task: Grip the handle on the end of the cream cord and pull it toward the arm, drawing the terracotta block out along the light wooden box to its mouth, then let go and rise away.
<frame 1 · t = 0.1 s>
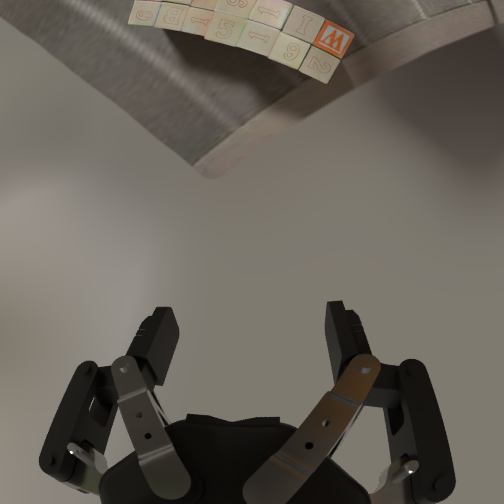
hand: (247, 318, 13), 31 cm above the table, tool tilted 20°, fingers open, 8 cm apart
stack of blocks: (239, 17, 24), on the table
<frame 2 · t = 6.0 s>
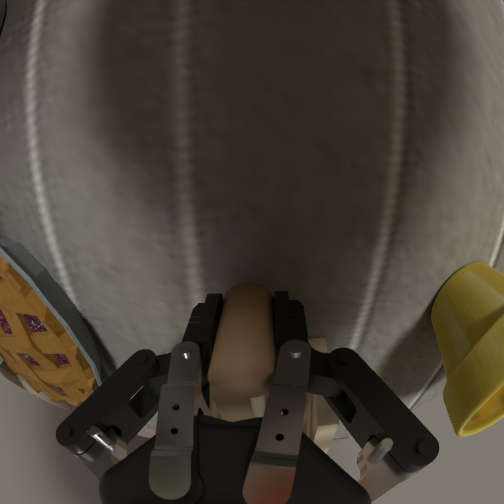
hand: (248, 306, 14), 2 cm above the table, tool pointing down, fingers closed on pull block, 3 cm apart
pie: (30, 313, 21), on the table
pull block: (261, 436, 17), point 5 cm above the table, slide at 0.0 cm, touching gripper
light wooden box: (266, 407, 23), on the table
plant pot: (462, 294, 16), on the table
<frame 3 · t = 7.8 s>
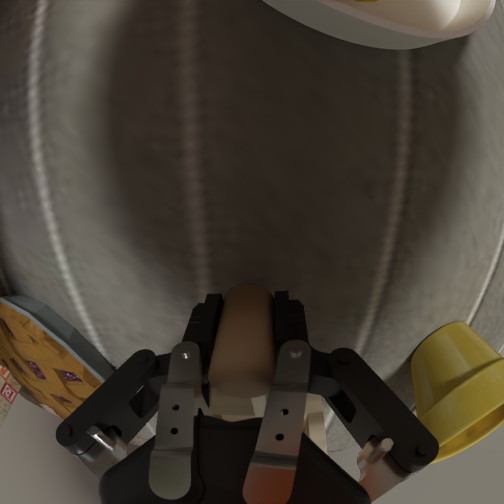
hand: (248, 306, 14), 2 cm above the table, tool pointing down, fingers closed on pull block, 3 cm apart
pie: (57, 355, 24), on the table
pull block: (263, 436, 17), point 5 cm above the table, slide at 6.1 cm, touching gripper
light wooden box: (271, 429, 26), on the table
plant pot: (440, 345, 19), on the table
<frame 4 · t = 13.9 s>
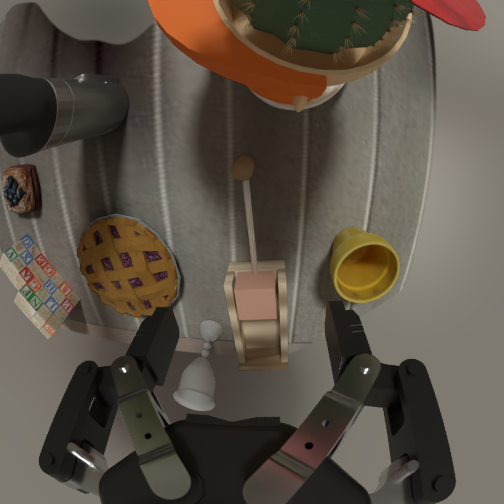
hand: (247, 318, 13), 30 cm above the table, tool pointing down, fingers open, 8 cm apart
pastry: (26, 186, 42), on the table
chalice: (211, 328, 55), on the table
potted cactus: (276, 43, 30), on the table
pie: (131, 261, 49), on the table
pull block: (251, 241, 39), point 5 cm above the table, slide at 11.9 cm
stack of blocks: (49, 271, 52), on the table
light wooden box: (261, 305, 51), on the table
plant pot: (350, 243, 44), on the table
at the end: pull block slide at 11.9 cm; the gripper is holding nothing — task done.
